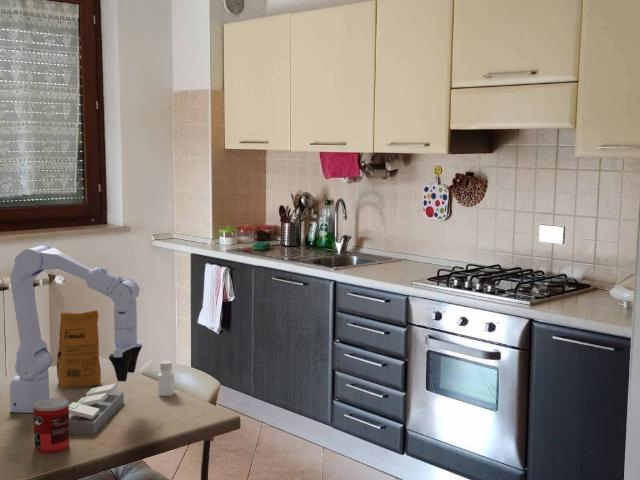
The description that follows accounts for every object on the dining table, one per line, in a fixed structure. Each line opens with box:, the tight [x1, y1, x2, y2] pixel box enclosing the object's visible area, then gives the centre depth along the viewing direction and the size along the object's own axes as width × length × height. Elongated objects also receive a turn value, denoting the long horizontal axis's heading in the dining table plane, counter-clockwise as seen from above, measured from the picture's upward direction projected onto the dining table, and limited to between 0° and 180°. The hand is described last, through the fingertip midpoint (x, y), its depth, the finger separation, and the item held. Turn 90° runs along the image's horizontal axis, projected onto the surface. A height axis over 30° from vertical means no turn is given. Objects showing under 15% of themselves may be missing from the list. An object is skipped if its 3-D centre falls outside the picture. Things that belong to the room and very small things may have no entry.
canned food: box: [32, 397, 71, 454], centre depth 187 cm, size 8×8×11 cm
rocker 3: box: [69, 401, 100, 420], centre depth 200 cm, size 7×5×2 cm
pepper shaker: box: [157, 360, 175, 397], centre depth 227 cm, size 4×4×10 cm
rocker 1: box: [85, 383, 118, 397], centre depth 216 cm, size 7×5×2 cm
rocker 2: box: [76, 393, 108, 407], centre depth 208 cm, size 7×5×2 cm
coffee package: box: [56, 309, 102, 390], centre depth 234 cm, size 10×12×22 cm
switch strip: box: [69, 391, 125, 435], centre depth 210 cm, size 9×28×3 cm, turn 177°
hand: (126, 376), depth 210 cm, fingers open, 7 cm apart
